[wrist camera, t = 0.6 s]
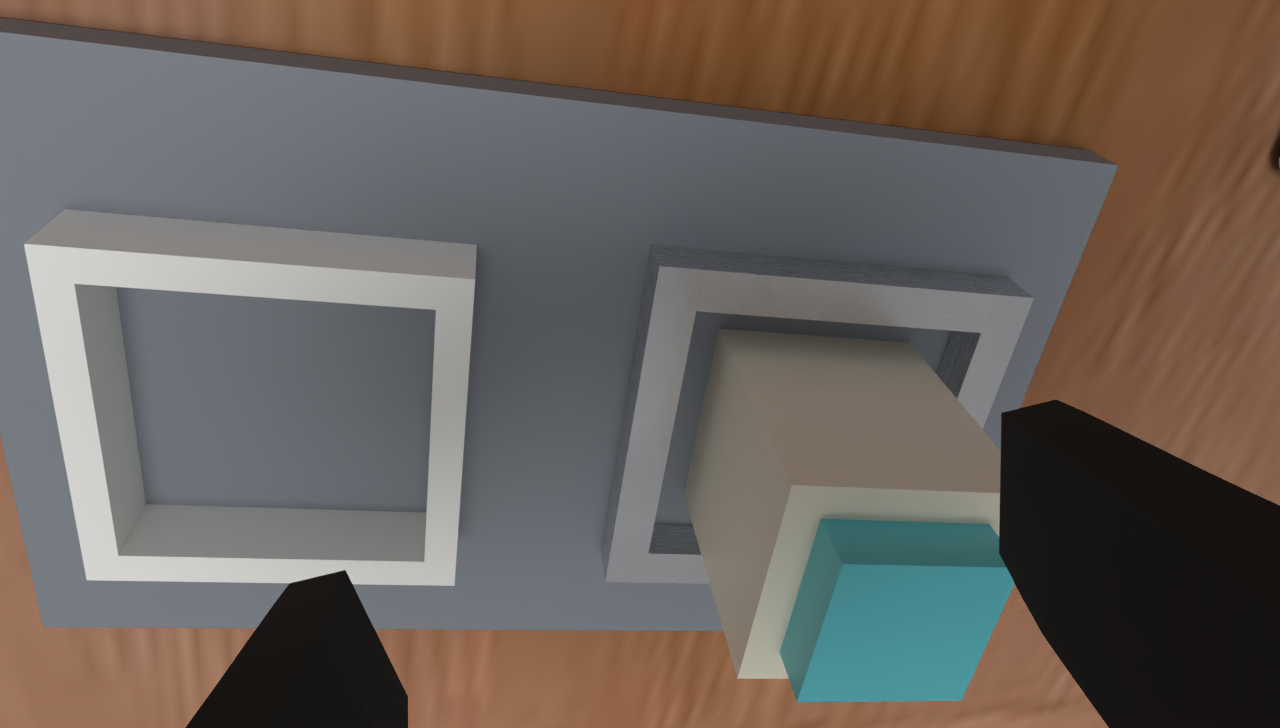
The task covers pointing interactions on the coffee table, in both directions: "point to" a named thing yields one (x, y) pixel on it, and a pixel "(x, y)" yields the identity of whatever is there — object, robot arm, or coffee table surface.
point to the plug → (846, 518)
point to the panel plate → (503, 297)
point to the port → (257, 267)
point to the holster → (782, 288)
